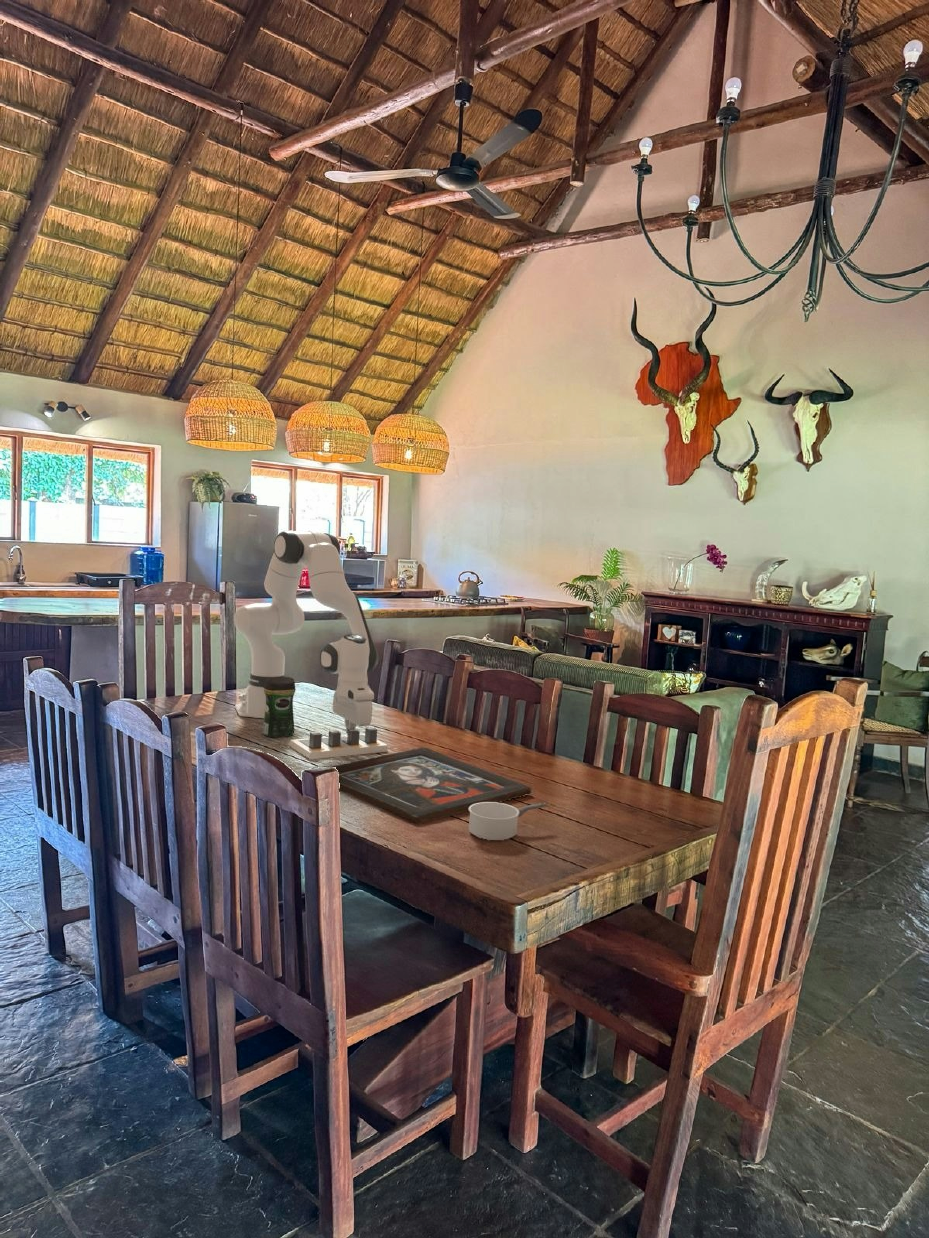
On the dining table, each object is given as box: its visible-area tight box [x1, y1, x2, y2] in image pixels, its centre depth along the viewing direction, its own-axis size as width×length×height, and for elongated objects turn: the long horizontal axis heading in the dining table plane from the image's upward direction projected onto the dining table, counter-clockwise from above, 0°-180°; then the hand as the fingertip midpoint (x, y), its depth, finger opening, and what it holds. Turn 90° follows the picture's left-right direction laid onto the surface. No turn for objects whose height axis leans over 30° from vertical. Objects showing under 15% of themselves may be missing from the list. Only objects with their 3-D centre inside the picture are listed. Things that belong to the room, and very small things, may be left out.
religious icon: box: [331, 747, 532, 825], centre depth 214 cm, size 40×45×3 cm
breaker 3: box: [346, 728, 361, 745], centre depth 243 cm, size 3×2×4 cm
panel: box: [289, 733, 389, 760], centre depth 244 cm, size 15×25×2 cm, turn 123°
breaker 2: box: [328, 729, 342, 747], centre depth 240 cm, size 3×2×4 cm
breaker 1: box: [309, 731, 323, 748], centre depth 236 cm, size 3×2×4 cm
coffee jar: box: [262, 676, 296, 738], centre depth 255 cm, size 10×8×19 cm
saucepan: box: [468, 802, 548, 841], centre depth 184 cm, size 12×20×6 cm, turn 121°
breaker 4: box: [364, 727, 378, 743], centre depth 246 cm, size 3×2×4 cm
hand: (350, 734), depth 245 cm, fingers closed
